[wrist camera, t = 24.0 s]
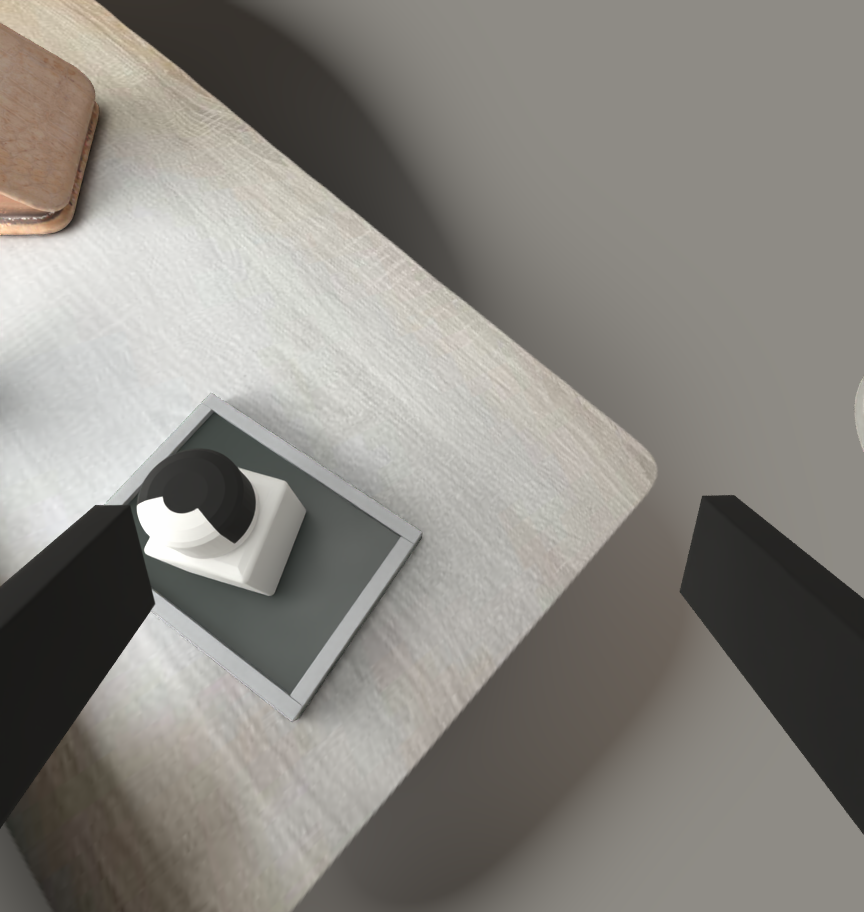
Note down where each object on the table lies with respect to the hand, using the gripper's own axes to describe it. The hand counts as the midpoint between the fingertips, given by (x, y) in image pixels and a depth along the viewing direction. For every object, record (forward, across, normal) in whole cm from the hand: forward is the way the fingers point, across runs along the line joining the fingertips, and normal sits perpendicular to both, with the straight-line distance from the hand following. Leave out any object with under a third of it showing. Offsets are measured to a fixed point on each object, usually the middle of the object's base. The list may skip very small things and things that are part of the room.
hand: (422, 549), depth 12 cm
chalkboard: (+26, -13, -16) cm, 33 cm away
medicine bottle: (+25, -13, -15) cm, 32 cm away
